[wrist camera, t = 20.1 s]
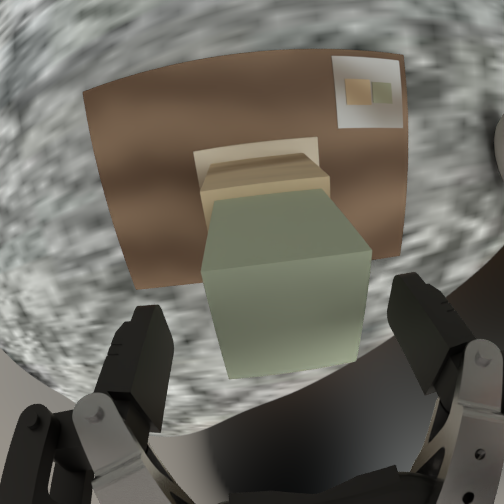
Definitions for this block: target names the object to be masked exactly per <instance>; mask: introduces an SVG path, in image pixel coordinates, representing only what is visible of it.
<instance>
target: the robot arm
mask: <svg viewBox="0 0 504 504" xmlns="http://www.w3.org/2000/svg"><path fill="white" fill-rule="evenodd" d="M387 318H388V323H389V325H390V327H391V329H392V331H393V333H394V335H395V337H396V339H397V341H398V342H399V344H400V346H401V348H402V350H403V352H404V354H405V356H406V358H407V360H408V362H409V364H410V366H411V368H412V370H413V372H414V374H415V376H416V378H417V380H418V382H419V384H420V386H421V388H422V390H423V393H424V395H428V394H431V393H434V392H437V394H438V396H439V397H438V399H437V401H436V404H435V408H434V411H433V415H432V418H431V422H430V426H429V429H428V432H427V435H426V438H425V441H424V445H423V447H422V449H421V452H420V453H419V455H418V456H417V458H416V460H415V462H414V464H413V466H412V468H411V470H410V472H398V471H397V468H396V465H393V466H390V467H387V468H383V469H380V470H377V471H373V472H370V473H366V474H363V475H359V476H356V477H354V478H352V479H350V480H348V481H346V482H344V483H342V484H340V485H338V486H335V487H333V488H331V489H329V490H326V491H324V492H322V493H319V494H300V493H288V492H278V491H263V492H249V493H248V492H247V493H229V500H228V501H225V502H221V503H218V504H494V500H495V496H496V493H497V489H498V485H499V481H500V476H501V471H502V467H503V462H504V351H500V350H499V349H498V347H497V346H496V345H494V344H493V343H492V342H490V341H487V340H483V339H476V338H475V337H474V335H473V334H472V332H471V331H470V329H469V328H468V327H467V325H466V324H465V323H464V321H463V320H462V319H461V317H460V316H459V315H458V313H457V312H456V311H454V308H453V307H452V305H451V304H450V303H448V300H447V299H446V298H445V296H444V295H443V294H442V293H441V291H439V290H438V289H436V288H435V287H433V286H432V285H430V284H425V282H424V281H423V280H422V279H421V277H420V276H419V275H418V274H417V273H416V272H411V273H406V274H400V275H396V276H395V277H394V279H393V283H392V288H391V293H390V299H389V303H388V308H387ZM107 354H108V356H106V359H105V361H104V364H103V367H102V370H101V373H100V375H99V378H98V381H97V384H96V387H95V390H94V392H93V393H91V394H88V395H86V396H84V397H83V398H81V399H80V400H79V401H78V402H77V404H76V405H75V407H74V409H73V410H69V411H64V412H58V413H51V412H50V411H49V410H48V409H47V407H45V406H44V405H42V404H33V405H31V406H29V407H27V408H26V409H25V410H24V411H23V412H22V413H21V415H20V417H19V420H18V423H17V425H16V428H15V432H14V435H13V438H12V441H11V444H10V448H9V451H8V455H7V459H6V463H5V466H4V470H3V474H2V478H1V483H0V504H91V497H92V489H93V490H94V492H95V494H96V496H97V498H98V500H99V502H100V504H195V503H194V501H193V500H192V499H191V498H190V497H189V496H188V495H187V494H186V493H185V492H184V491H183V490H182V489H181V487H180V486H179V485H178V484H177V483H176V481H175V480H174V479H173V477H172V476H171V475H170V473H169V472H168V470H167V469H166V468H165V466H164V465H163V463H162V462H161V460H160V459H159V458H158V456H157V455H156V453H155V452H154V450H153V449H152V447H151V446H150V444H149V443H148V436H149V432H155V433H161V428H162V421H163V414H164V408H165V401H166V395H167V389H168V383H169V377H170V371H171V365H172V360H173V354H174V344H173V338H172V335H171V333H170V330H169V328H168V325H167V323H166V320H165V317H164V315H163V312H162V309H161V307H160V306H159V305H146V306H137V307H136V309H135V311H134V314H133V316H132V319H131V321H129V322H124V323H123V324H122V326H121V327H120V328H119V329H118V330H117V331H116V333H115V335H114V338H113V340H112V343H111V346H110V348H109V351H108V353H107ZM53 462H55V467H54V472H53V477H52V482H51V489H50V494H49V493H48V483H49V477H50V472H51V468H52V463H53ZM94 474H95V478H94Z"/></svg>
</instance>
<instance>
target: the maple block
mask: <svg viewBox="0 0 504 504" xmlns="http://www.w3.org/2000/svg"><path fill="white" fill-rule="evenodd" d="M311 189H323V191H324V192H325V193H326V194H327V195H328V196H329V198H330V176H329V175H328V174H327V173H326V172H324V171H323V170H322V169H321V168H320V167H319V166H318V165H317V164H315V163H314V162H313V161H312V160H311V159H310V158H309V157H307V156H306V155H305V154H304V153H296V154H286V155H276V156H267V157H258V158H250V159H242V160H235V161H228V162H221V163H214V164H210V167H209V170H208V172H207V175H206V177H205V180H204V182H203V185H202V188H201V190H200V195H201V200H202V206H203V211H204V216H205V221H206V226H207V231H208V230H209V225H210V220H211V215H212V210H213V205H214V201H217V200H224V199H231V198H239V197H247V196H255V195H264V194H272V193H282V192H291V191H301V190H311Z"/></svg>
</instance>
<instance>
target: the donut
mask: <svg viewBox="0 0 504 504" xmlns="http://www.w3.org/2000/svg"><path fill="white" fill-rule="evenodd" d="M494 147H495V157H496V161H497V165H498V169H499V172H500V174H501V177H502V179H503V182H504V114H503V115H502V117H501V119H500V120H499V122H498V124H497V126H496V130H495V136H494Z"/></svg>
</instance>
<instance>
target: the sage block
mask: <svg viewBox="0 0 504 504" xmlns="http://www.w3.org/2000/svg"><path fill="white" fill-rule="evenodd" d="M371 258H372V249H371V248H370V247H369V245H368V244H367V243H366V242H365V240H364V239H363V238H362V236H361V235H360V234H359V233H358V231H357V230H356V229H355V228H354V226H353V225H352V224H351V223H350V222H349V220H348V219H347V218H346V217H345V215H344V214H343V213H342V212H341V211H340V209H339V208H338V207H337V206H336V205H335V203H334V202H333V201H332V200H331V199H330V198H329V196H328V195H327V194H326V193H325V192H324V191H323V189H311V190H301V191H291V192H282V193H272V194H264V195H255V196H247V197H239V198H231V199H224V200H217V201H214V205H213V210H212V215H211V220H210V225H209V230H208V235H207V240H206V245H205V251H204V256H203V262H202V267H201V275H202V279H203V284H204V288H205V292H206V296H207V300H208V304H209V308H210V311H211V315H212V319H213V323H214V327H215V331H216V334H217V338H218V342H219V345H220V349H221V353H222V356H223V360H224V363H225V367H226V370H227V374H228V377H229V379H238V378H249V377H259V376H268V375H276V374H284V373H291V372H298V371H304V370H311V369H317V368H323V367H328V366H334V365H339V364H344V363H349V362H354V361H356V359H357V354H358V349H359V343H360V338H361V332H362V326H363V320H364V314H365V307H366V300H367V293H368V285H369V277H370V268H371Z"/></svg>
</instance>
